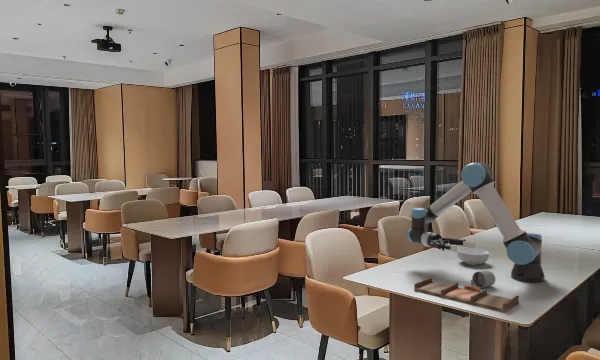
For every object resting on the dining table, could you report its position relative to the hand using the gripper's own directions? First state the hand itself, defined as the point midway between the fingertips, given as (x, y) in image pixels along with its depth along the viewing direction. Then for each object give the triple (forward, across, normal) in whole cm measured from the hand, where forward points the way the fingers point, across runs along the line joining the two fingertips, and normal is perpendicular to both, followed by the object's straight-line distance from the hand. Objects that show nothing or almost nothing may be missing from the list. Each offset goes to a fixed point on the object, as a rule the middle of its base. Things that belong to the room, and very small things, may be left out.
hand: (465, 247), depth 221 cm
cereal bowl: (-21, -34, -17) cm, 43 cm away
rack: (+15, +20, -17) cm, 30 cm away
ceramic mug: (+9, 0, -17) cm, 19 cm away
